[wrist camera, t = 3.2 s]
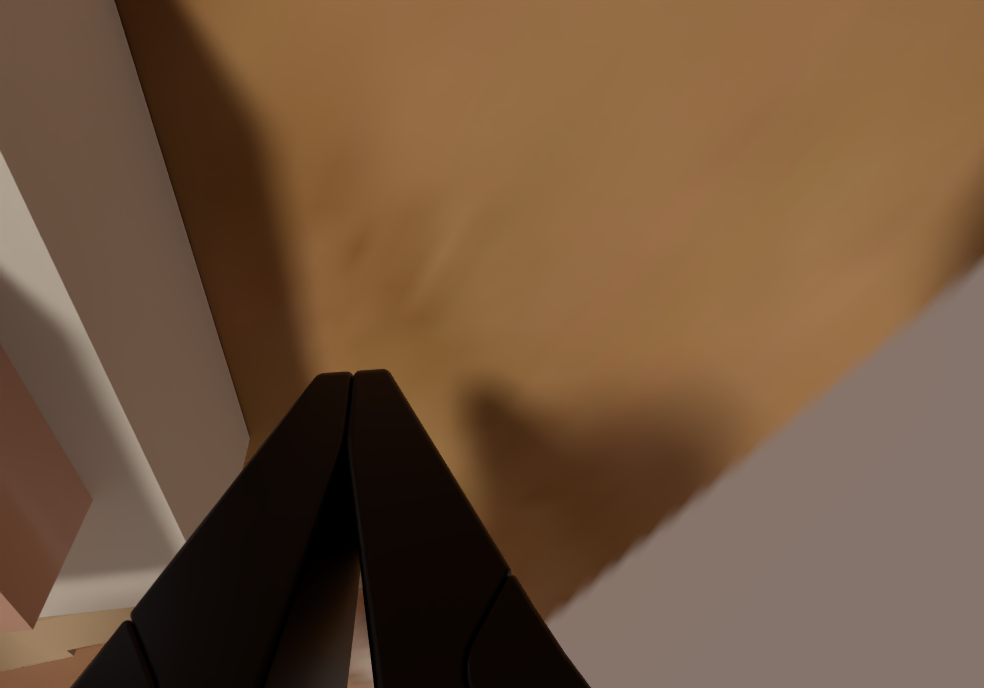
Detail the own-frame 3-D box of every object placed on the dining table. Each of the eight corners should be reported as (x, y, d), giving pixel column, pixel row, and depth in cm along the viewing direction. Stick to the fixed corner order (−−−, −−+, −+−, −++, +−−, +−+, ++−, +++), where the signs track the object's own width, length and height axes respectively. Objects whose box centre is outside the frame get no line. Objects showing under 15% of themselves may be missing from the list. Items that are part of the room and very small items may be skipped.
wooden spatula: (371, 496, 16) (370, 527, 15) (402, 568, 18) (403, 599, 18) (-188, 611, 16) (-218, 650, 15) (-86, 670, 18) (-106, 706, 17)
